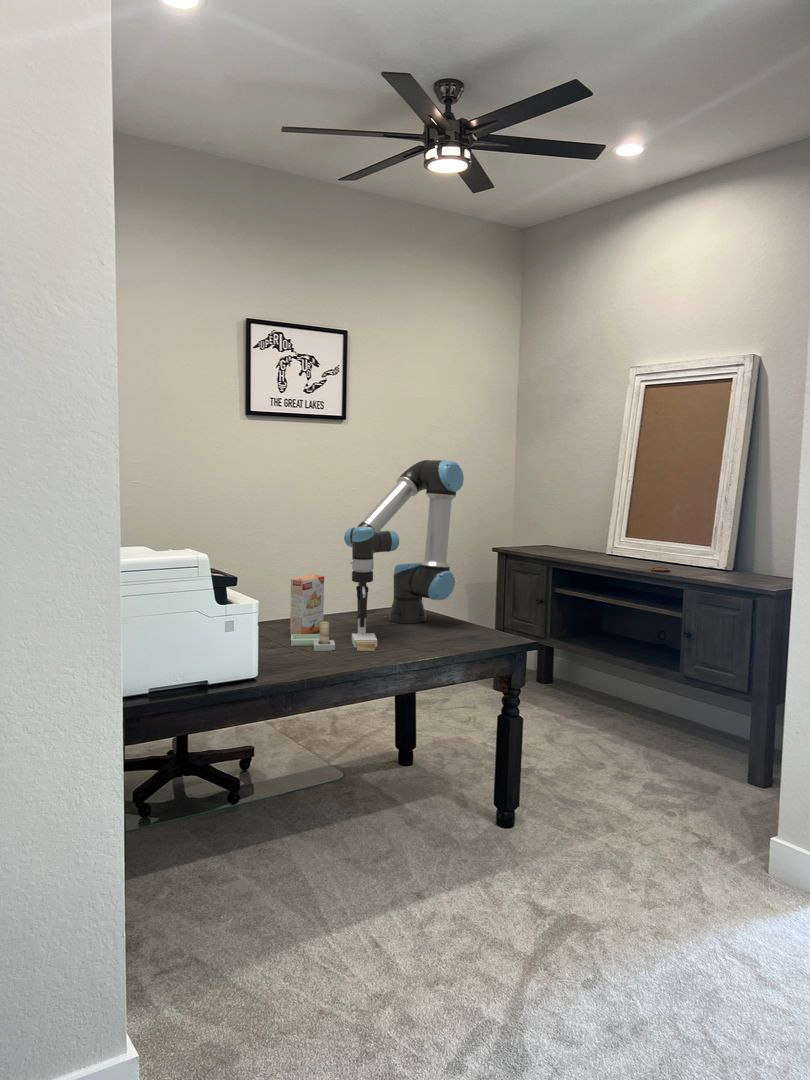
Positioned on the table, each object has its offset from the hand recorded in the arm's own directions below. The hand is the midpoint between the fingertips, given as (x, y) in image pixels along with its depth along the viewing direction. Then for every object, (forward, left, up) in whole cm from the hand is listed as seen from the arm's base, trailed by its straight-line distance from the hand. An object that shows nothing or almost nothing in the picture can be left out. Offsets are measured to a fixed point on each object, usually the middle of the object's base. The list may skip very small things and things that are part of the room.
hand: (361, 635), depth 280 cm
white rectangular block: (+6, 0, -2) cm, 6 cm away
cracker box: (-13, -19, -2) cm, 23 cm away
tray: (+3, -19, -2) cm, 19 cm away
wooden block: (+14, 0, -2) cm, 14 cm away
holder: (+12, -14, -2) cm, 18 cm away
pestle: (+12, -14, -2) cm, 18 cm away
